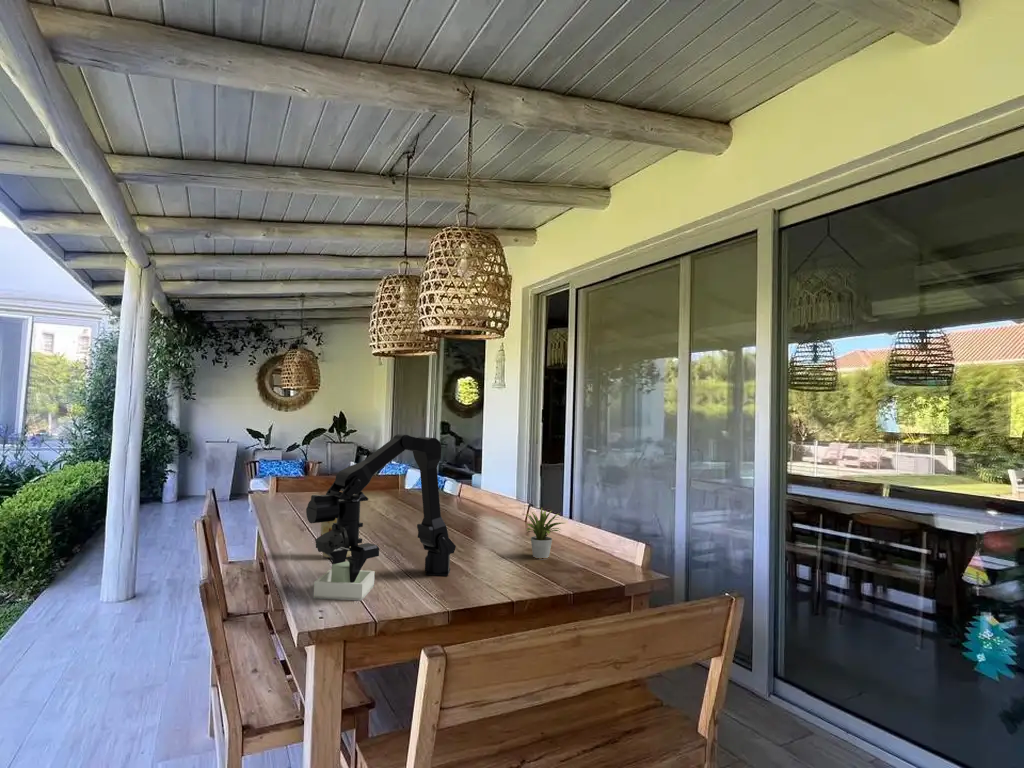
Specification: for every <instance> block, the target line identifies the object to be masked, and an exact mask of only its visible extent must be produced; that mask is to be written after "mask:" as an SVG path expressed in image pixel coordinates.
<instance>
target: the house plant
mask: <svg viewBox="0 0 1024 768" xmlns="http://www.w3.org/2000/svg"><path fill="white" fill-rule="evenodd" d="M552 512H553V510H550V511H549V512H548V513H547V510H544V511H543V507H541V509H540V513H539V514H540V515H539V519H538V516H537V514H536V513H535V512H531V514H532V516H533V517H532V516H531V514H530V513H528V514H526V513H525V514H523V513H522V515H524V516H526V517H527V518H528V519H529V520H530V522H531V523H527V524H526V526H529V527H528V528H527V529H526V531H527V533H530V532H531V533H534V535H535V536H534V535H533V536H531V537H530V541H531V542H530V543H531V550H532V552H531V553H532V558H533V557H536V558H548V557H550V552H551V548H552V543H553V538H552V537H550V536H548V535H550V534H551V533H552V532H559V533H561V532H562V531H561V528H560V527H555V526H557V525H561V524H565V522H553V521H555V520H559V519H558V517H557V516H558V515H560V514H561V513H557V514H555V515H553V517H552V518H550V520H548V522H547V523H546V521H547V519H548V518H549V515H551V513H552ZM548 559H549V558H548Z"/></svg>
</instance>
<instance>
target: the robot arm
mask: <svg viewBox="0 0 1024 768" xmlns="http://www.w3.org/2000/svg"><path fill="white" fill-rule="evenodd" d="M405 451H411V452H412V454H413V459H414V462H416V465H417V466H418V468H419V473H420V485H421V499H422V509H423V519H422V521H421V523H417V525H416V528H417V539H419V541H420V543H421V544H422V546H423V547H422V548H423V550H426V551H427V554H426V556H425V559H424V561H425V562H424V571H425V574H424V575H425V576H443V577H444V576H445V577H447V576H449V574H450V573H451V568H450V566H451V564H450V563H451V554H455V551H456V547H457V545H456V544H455V543H454V542H453V541H452V539H450V537H449V532H448V527H447V524H446V523H445V521H444V519H443V517H442V515H441V504H440V503H441V502H440V487H439V478H438V466H439V463H440V461H441V460H442V443H441V441H440V440H439V439H438V438H436V437H429V436H418V437H415V436H410V435H409V434H402V433H397V434H396V435H395V434H394V436H393V437H392V439H390V440H389V441H387V442H386V443H385V444H383V445H382V446H381V447H379V448H378V449H377V450H375V451H374V452H373V453H371V454H370V455H369V456H368V457H366V458H365V459H364V460H362V461H360V462H357V463H355V464H352V465H349V466H347V467H345V468H344V469H342V470H339V471H338V473H336V475H335V480H334V482H333V483H332V484H331V486H330V487H329V488H328V490H327V491H326V493H325V494H321V495H320V494H313V495H311V496H310V500H309V501H308V503H307V506H306V509H305V513H306V519H307V522H308V523H309V524H319V523H320V524H321V522H329V521H334V520H335V519H336V518H337V523H333V525H332V530H331V531H329V532H327V533H325V534H323V535H322V536H321V535H320V536H318V537H316V538H315V540H314V541H315V548H316V549H317V552H319V553H322V552H324V553H325V554H327V555H328V556H329V557H330V558H329V559H330V560H331V564H332V565H333V564H337V563H341V562H346V561H348V562H349V570H350V582H351V583H353V582H355V580H356V578H357V576H358V574H359V572H360V570H362V568H363V566H364V565H365V563H366V562H367V560H368V559H371V558H376V557H379V556H380V547H379V546H378V544H374V543H371V542H370V543H369V542H365V543H363V538H360V528H363V527H364V523H363V522H361V521H360V519H361V518H360V517H361V502H367V501H369V498H368V496H366V495H365V494H364V492H363V490H364V489H365V488H366V487H367V486H368V485H369V484H370V482H371V480H372V478H373V476H375V474H376V473H378V472H379V471H380V470H381V469H383V468H384V467H386V465H388V464H389V463H391V461H393V460H394V459H396V458H397V457H399V455H401V454H402V453H403V452H405ZM348 551H351V554H350V556H348V557H346V556H347V552H348Z"/></svg>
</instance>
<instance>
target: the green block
mask: <svg viewBox="0 0 1024 768" xmlns="http://www.w3.org/2000/svg"><path fill="white" fill-rule="evenodd" d="M331 569H332V575H331V582H346V583H351V582H350V570H349V562H348V560H345V562H341V563H337V564H333V563H332V564H331ZM359 582H360V572H359V574H358V576H357V578H356V580H355V582H353V583H359Z"/></svg>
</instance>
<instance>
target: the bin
mask: <svg viewBox="0 0 1024 768" xmlns="http://www.w3.org/2000/svg"><path fill="white" fill-rule="evenodd" d="M375 573H376V572H375V570H364V569H363V570H362V569H361V570H360V582H359V583H346V582H331V575H332V568H330V569H328V570H327V571H325V573H324V574H322V575H321V576H320V577H318V578H317V579H316V580H314V581H313V583H314V584H313V599H316V600H317V599H318V600H319V599H320V600H336V601H338V600H339V601H359V602H361V601H363V600H364V598H366V596H367V595H368V594H369V593H370V591H372V589H373V588H374V586H375Z"/></svg>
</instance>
